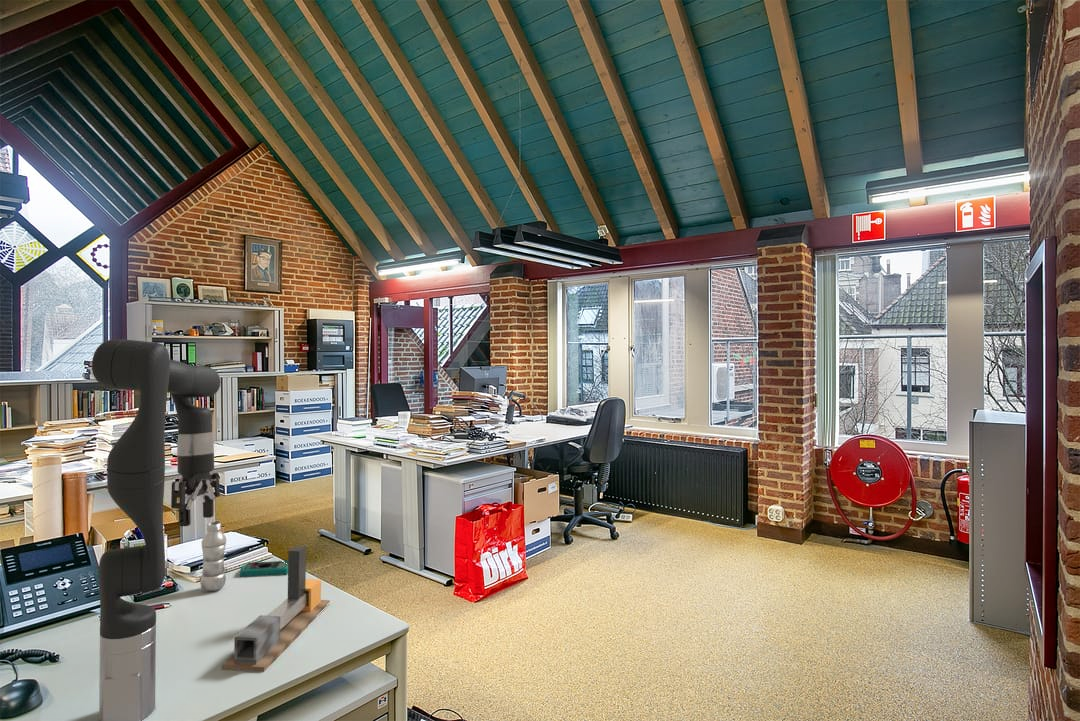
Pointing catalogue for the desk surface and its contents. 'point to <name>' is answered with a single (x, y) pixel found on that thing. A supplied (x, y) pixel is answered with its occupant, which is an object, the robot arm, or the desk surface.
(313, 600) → the far socket
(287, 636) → the bolt guide base
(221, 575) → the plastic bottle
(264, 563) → the digital multimeter
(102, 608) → the robot arm
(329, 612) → the desk surface
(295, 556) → the slide bolt
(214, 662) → the desk surface
